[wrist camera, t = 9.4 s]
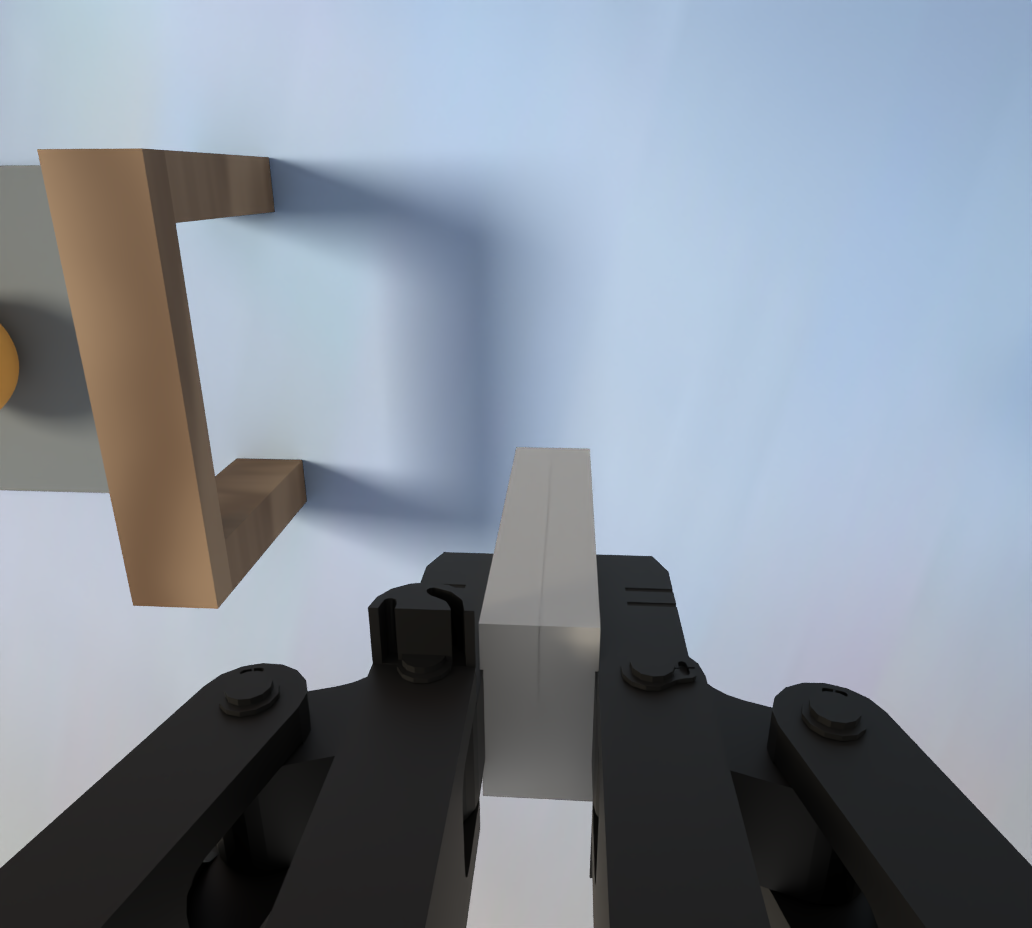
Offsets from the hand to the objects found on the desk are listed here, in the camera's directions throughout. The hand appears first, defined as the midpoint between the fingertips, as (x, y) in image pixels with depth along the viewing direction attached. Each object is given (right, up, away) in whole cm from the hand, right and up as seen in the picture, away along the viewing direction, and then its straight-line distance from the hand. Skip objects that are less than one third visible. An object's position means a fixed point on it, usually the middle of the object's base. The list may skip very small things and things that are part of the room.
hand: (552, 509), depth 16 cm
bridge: (-12, +6, +16) cm, 21 cm away
